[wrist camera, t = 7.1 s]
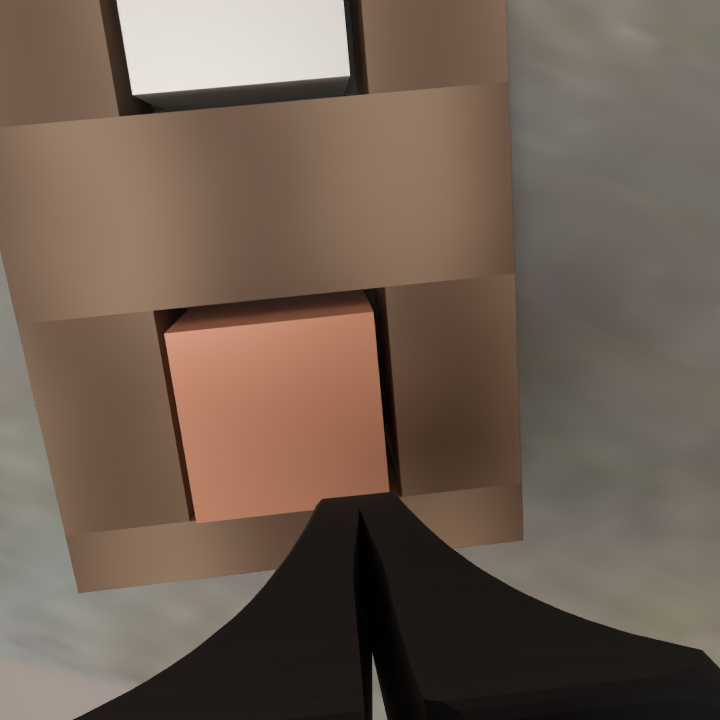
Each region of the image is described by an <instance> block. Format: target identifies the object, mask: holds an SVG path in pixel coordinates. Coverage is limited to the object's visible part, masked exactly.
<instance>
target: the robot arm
mask: <svg viewBox="0 0 720 720" xmlns="http://www.w3.org/2000/svg"><path fill="white" fill-rule="evenodd" d="M372 653H373V658H374V662H375V667H376V671H377V675H378V680H379V684H380V689H381V693H382V697H383V702H384V706H385V711H386V715H387V719H388V720H720V668H719V667H718V666H717V665H716V664H715V663H714V662H713V661H712V660H711V659H710V658H709V657H708V656H707V655H706V654H705V653H704V652H703V651H702V650H699V649H695V648H690V647H686V646H682V645H678V644H673V643H669V642H665V641H660V640H656V639H652V638H647V637H643V636H639V635H634V634H630V633H627V632H623V631H620V630H617V629H614V628H611V627H608V626H605V625H602V624H598V623H595V622H592V621H589V620H586V619H583V618H581V617H578V616H575V615H573V614H570V613H567V612H565V611H562V610H560V609H557V608H555V607H553V606H551V605H548V604H546V603H544V602H542V601H539V600H537V599H535V598H533V597H530V596H528V595H526V594H524V593H522V592H520V591H518V590H516V589H514V588H512V587H511V586H509V585H507V584H505V583H504V582H502V581H500V580H499V579H497V578H495V577H493V576H492V575H490V574H488V573H486V572H485V571H483V570H482V569H480V568H479V567H477V566H476V565H474V564H473V563H471V562H470V561H468V560H467V559H466V558H464V557H463V556H462V555H460V554H459V553H457V552H456V551H455V550H453V549H452V548H451V547H450V546H448V545H447V544H446V543H445V542H444V541H443V540H442V539H440V538H439V537H438V536H437V535H436V534H435V533H434V532H432V531H431V530H430V529H429V528H428V527H427V526H426V525H425V524H424V523H423V522H422V521H421V520H420V519H419V518H418V517H417V516H416V515H415V514H414V513H413V512H412V511H411V510H410V509H409V508H408V507H407V506H406V505H405V504H404V503H403V502H402V500H401V499H400V498H399V497H398V496H397V495H395V494H394V493H393V492H384V493H374V494H365V495H355V496H345V497H335V498H325V499H321V501H320V502H319V503H318V504H317V505H316V507H315V509H314V512H313V514H312V516H311V518H310V520H309V522H308V523H307V525H306V527H305V529H304V530H303V532H302V534H301V536H300V537H299V539H298V540H297V542H296V543H295V545H294V546H293V548H292V549H291V551H290V552H289V554H288V556H287V557H286V558H285V560H284V561H283V562H282V564H281V565H280V566H279V568H278V569H277V570H276V572H275V573H274V574H273V575H272V577H271V578H270V579H269V581H268V582H267V583H266V584H265V586H264V587H263V588H262V589H261V590H260V591H259V593H258V594H257V595H256V596H255V597H254V598H253V599H252V600H251V601H250V602H249V603H248V604H247V605H246V606H245V607H244V608H243V609H242V610H241V611H240V612H239V613H238V614H237V615H236V616H235V617H234V618H233V619H232V620H230V621H229V622H228V623H227V624H226V625H224V626H223V627H222V628H221V629H219V630H218V631H217V632H216V633H214V634H213V635H212V636H211V637H210V638H208V639H207V640H206V641H205V642H203V643H202V644H201V645H200V646H198V647H197V648H196V649H194V650H193V651H192V652H190V653H189V654H187V655H186V656H185V657H183V658H182V659H180V660H179V661H177V662H176V663H174V664H173V665H171V666H170V667H168V668H167V669H165V670H164V671H162V672H160V673H159V674H157V675H156V676H154V677H152V678H151V679H149V680H148V681H146V682H144V683H142V684H141V685H139V686H137V687H135V688H134V689H132V690H130V691H128V692H126V693H124V694H123V695H121V696H119V697H117V698H115V699H113V700H111V701H109V702H107V703H105V704H103V705H101V706H99V707H97V708H95V709H93V710H92V711H90V712H88V713H86V714H84V715H82V716H80V717H78V718H76V719H73V720H372Z"/></svg>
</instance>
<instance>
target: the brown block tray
mask: <svg viewBox="0 0 720 720" xmlns="http://www.w3.org/2000/svg"><path fill="white" fill-rule="evenodd" d="M349 2H350V13H351V25H352V36H353V48H354V59H355V71H356V82H357V94H358V95H354V96H343V97H332V98H321V99H310V100H299V101H288V102H277V103H265V104H254V105H243V106H232V107H221V108H210V109H199V110H188V111H176V112H165V113H154V114H153V113H152V107H151V104H149V103H147V102H145V101H143V100H141V99H139V98H137V97H135V96H133V95H132V90H131V84H130V78H129V72H128V66H127V60H126V54H125V48H124V42H123V36H122V30H121V24H120V18H119V12H118V6H117V0H0V251H1V255H2V259H3V264H4V268H5V273H6V277H7V281H8V286H9V290H10V294H11V299H12V303H13V308H14V312H15V316H16V321H17V325H18V330H19V334H20V338H21V343H22V347H23V351H24V356H25V360H26V365H27V369H28V373H29V378H30V382H31V387H32V391H33V395H34V400H35V404H36V408H37V413H38V417H39V422H40V426H41V430H42V435H43V439H44V443H45V448H46V452H47V457H48V461H49V465H50V470H51V474H52V479H53V483H54V487H55V492H56V496H57V500H58V505H59V509H60V514H61V518H62V522H63V527H64V531H65V536H66V540H67V544H68V549H69V553H70V557H71V562H72V566H73V571H74V575H75V579H76V584H77V588H78V593H83V592H91V591H100V590H108V589H117V588H125V587H133V586H142V585H150V584H159V583H167V582H176V581H184V580H192V579H201V578H209V577H218V576H226V575H235V574H243V573H251V572H260V571H268V570H277V569H278V568H279V566H280V565H281V564H282V562H283V561H284V560H285V558H286V557H287V556H288V554H289V552H290V551H291V549H292V548H293V546H294V545H295V543H296V542H297V540H298V539H299V537H300V536H301V534H302V532H303V530H304V529H305V527H306V525H307V523H308V522H309V520H310V518H311V516H312V514H313V512H314V510H309V511H300V512H292V513H283V514H274V515H266V516H257V517H248V518H240V519H231V520H222V521H214V522H205V523H196V517H195V511H194V505H193V500H192V494H191V488H190V482H189V476H188V470H187V465H186V459H185V453H184V447H183V441H182V435H181V429H180V424H179V418H178V412H177V406H176V400H175V394H174V389H173V383H172V377H171V371H170V365H169V359H168V354H167V348H166V342H165V336H164V333H165V332H166V331H167V330H168V329H169V328H170V327H171V326H172V325H173V324H174V323H175V322H176V321H177V320H178V319H179V318H180V317H181V316H182V315H183V314H184V313H185V311H184V307H193V306H203V305H213V304H223V303H233V302H242V301H252V300H262V299H272V298H282V297H291V296H301V295H311V294H321V293H331V292H340V291H350V290H360V289H370V288H374V289H375V300H376V312H377V323H378V335H379V346H380V358H381V369H382V381H383V392H384V404H385V415H386V427H387V438H388V447H386V459H387V470H388V481H389V492H393V493H394V494H395V495H397V496H398V497H399V498H400V499H401V500H402V502H403V503H404V504H405V505H406V506H407V507H408V508H409V509H410V510H411V511H412V512H413V513H414V514H415V515H416V516H417V517H418V518H419V519H420V520H421V521H422V522H423V523H424V524H425V525H426V526H427V527H428V528H429V529H430V530H431V531H432V532H434V533H435V534H436V535H437V536H438V537H439V538H440V539H442V540H443V541H444V542H445V543H446V544H447V545H448V546H450V547H451V548H452V549H453V548H462V547H470V546H479V545H487V544H496V543H504V542H512V541H521V540H524V539H523V509H522V478H521V448H520V417H519V386H518V356H517V325H516V295H515V264H514V234H513V203H512V173H511V142H510V112H509V81H508V50H507V20H506V0H349Z"/></svg>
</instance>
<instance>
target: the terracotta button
mask: <svg viewBox="0 0 720 720" xmlns="http://www.w3.org/2000/svg"><path fill="white" fill-rule="evenodd" d="M164 336H165V342H166V348H167V354H168V359H169V365H170V371H171V377H172V383H173V389H174V394H175V400H176V406H177V412H178V418H179V424H180V429H181V435H182V441H183V447H184V453H185V459H186V465H187V470H188V476H189V482H190V488H191V494H192V500H193V505H194V511H195V517H196V523H205V522H214V521H222V520H231V519H240V518H248V517H257V516H266V515H274V514H283V513H292V512H300V511H309V510H314V509H315V507H316V505H317V504H318V503H319V502H320V501H321V499H325V498H335V497H345V496H355V495H365V494H374V493H384V492H389V481H388V470H387V459H386V447H385V436H384V425H383V413H382V402H381V391H380V379H379V368H378V357H377V345H376V334H375V323H374V312H373V310H372V308H371V305H370V303H369V301H368V299H367V297H366V295H365V293H364V291H363V289H360V290H350V291H341V292H331V293H321V294H311V295H301V296H292V297H282V298H272V299H262V300H252V301H243V302H233V303H223V304H213V305H203V306H194V307H190V308H189V309H188V310H187V311H186V312H185V313H184V314H183V315H182V316H181V317H180V318H179V319H178V320H177V321H176V322H175V323H174V324H173V325H172V326H171V327H170V328H169V329H168V330H167V331H166V332H165V333H164Z"/></svg>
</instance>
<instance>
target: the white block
mask: <svg viewBox="0 0 720 720" xmlns="http://www.w3.org/2000/svg"><path fill="white" fill-rule="evenodd" d="M117 6H118V12H119V18H120V24H121V30H122V36H123V42H124V48H125V54H126V60H127V66H128V72H129V78H130V84H131V90H132V95H133V96H135V97H137V98H139V99H141V100H143V101H145V102H147V103H149V104H151V105H153V106H155V107H157V108H159V109H161V110H163V111H165V112H171V111H182V110H194V109H205V108H216V107H227V106H238V105H249V104H260V103H271V102H283V101H294V100H305V99H316V98H327V97H338V96H344V93H345V90H346V87H347V84H348V81H349V78H350V68H349V57H348V46H347V34H346V23H345V12H344V1H343V0H117Z"/></svg>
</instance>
